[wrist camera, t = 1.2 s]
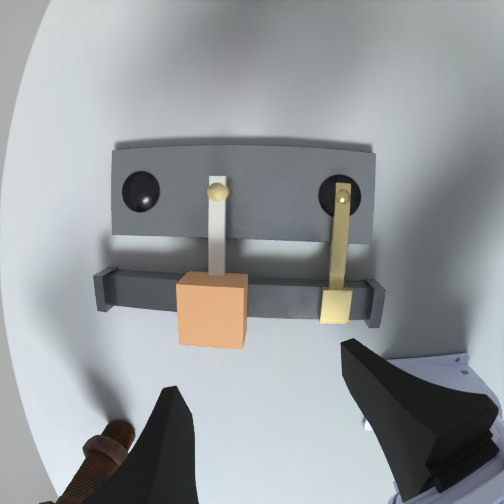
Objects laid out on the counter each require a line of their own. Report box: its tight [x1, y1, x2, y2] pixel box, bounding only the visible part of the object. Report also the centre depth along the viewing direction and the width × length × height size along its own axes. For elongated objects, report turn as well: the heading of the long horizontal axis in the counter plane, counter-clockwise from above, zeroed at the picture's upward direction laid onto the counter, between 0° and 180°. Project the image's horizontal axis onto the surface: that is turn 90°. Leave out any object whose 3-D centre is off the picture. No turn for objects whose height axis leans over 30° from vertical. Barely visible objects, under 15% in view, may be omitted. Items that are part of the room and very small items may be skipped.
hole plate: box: [111, 145, 376, 244], centre depth 21 cm, size 19×6×1 cm, turn 88°
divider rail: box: [93, 183, 386, 328], centre depth 21 cm, size 21×10×3 cm, turn 88°
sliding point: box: [176, 176, 248, 350], centre depth 20 cm, size 4×10×4 cm, turn 179°
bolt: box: [39, 421, 135, 504], centre depth 20 cm, size 6×5×15 cm
